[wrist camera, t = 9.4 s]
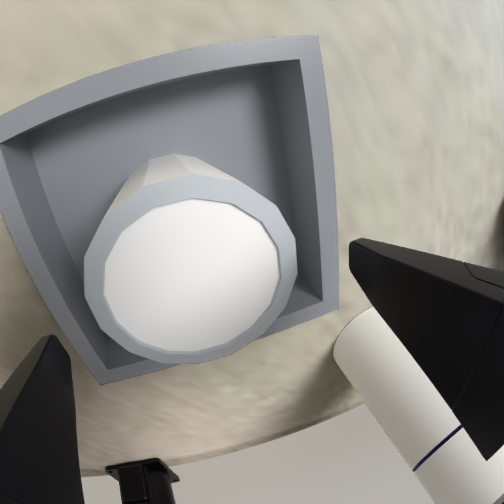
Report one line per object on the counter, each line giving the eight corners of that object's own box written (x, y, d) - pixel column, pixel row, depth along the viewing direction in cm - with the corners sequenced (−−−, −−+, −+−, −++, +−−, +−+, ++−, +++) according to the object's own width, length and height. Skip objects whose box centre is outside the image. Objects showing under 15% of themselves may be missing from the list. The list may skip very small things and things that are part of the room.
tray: (308, 273, 21) (338, 308, 18) (102, 338, 18) (100, 385, 15) (279, 46, 14) (318, 35, 11) (11, 120, 11) (-26, 130, 8)
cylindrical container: (369, 294, 24) (576, 531, 3) (410, 314, 27) (575, 496, 6) (317, 361, 26) (475, 599, 5) (365, 370, 29) (502, 556, 8)
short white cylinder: (237, 264, 18) (286, 350, 12) (113, 276, 16) (107, 375, 10) (244, 139, 15) (313, 173, 9) (99, 145, 13) (63, 185, 7)
